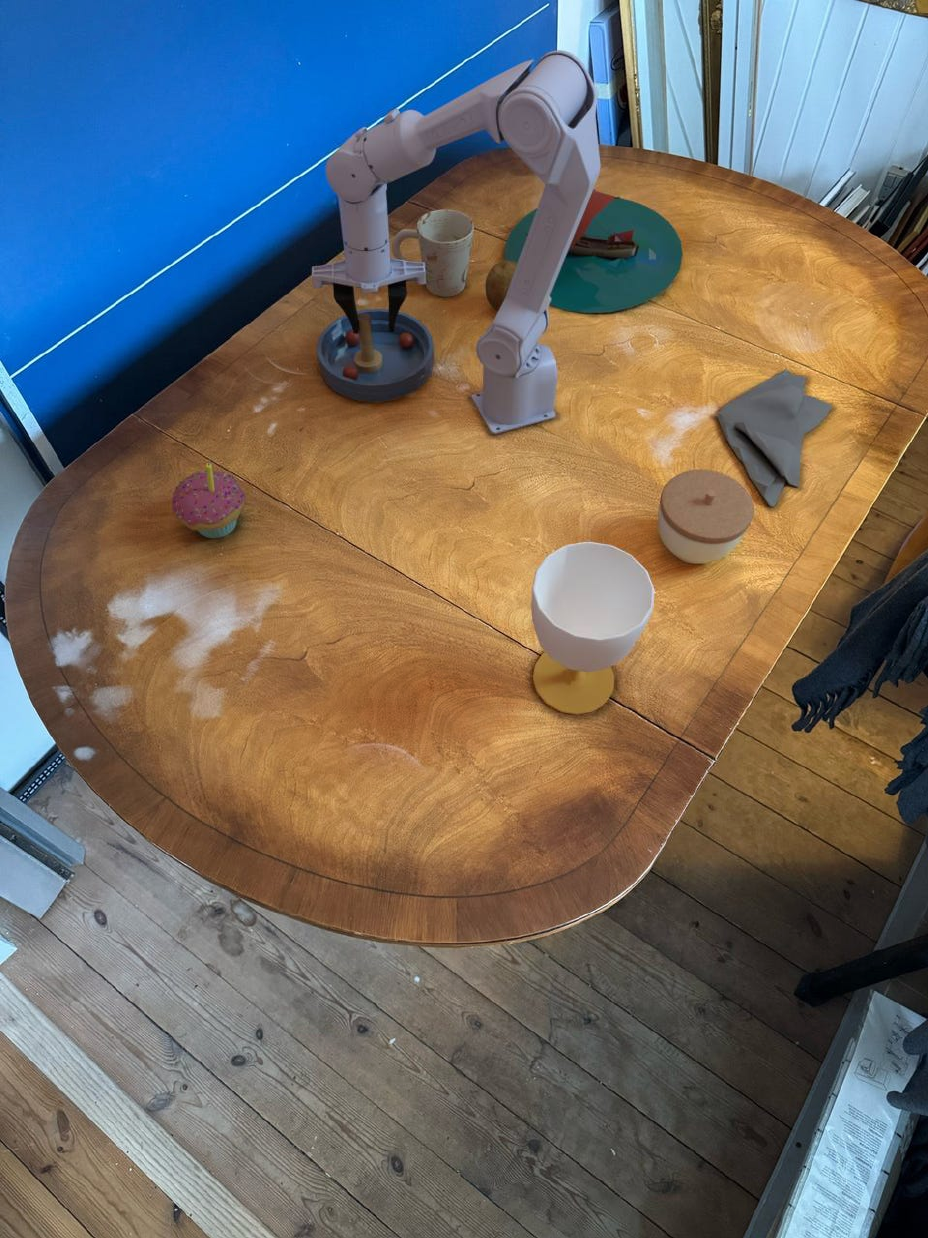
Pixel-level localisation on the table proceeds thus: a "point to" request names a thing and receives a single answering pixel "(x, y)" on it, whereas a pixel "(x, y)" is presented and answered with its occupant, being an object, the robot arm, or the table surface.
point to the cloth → (772, 430)
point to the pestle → (367, 348)
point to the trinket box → (703, 515)
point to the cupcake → (208, 502)
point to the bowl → (399, 364)
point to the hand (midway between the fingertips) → (373, 328)
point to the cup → (586, 622)
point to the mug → (441, 249)
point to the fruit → (499, 282)
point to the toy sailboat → (610, 256)
